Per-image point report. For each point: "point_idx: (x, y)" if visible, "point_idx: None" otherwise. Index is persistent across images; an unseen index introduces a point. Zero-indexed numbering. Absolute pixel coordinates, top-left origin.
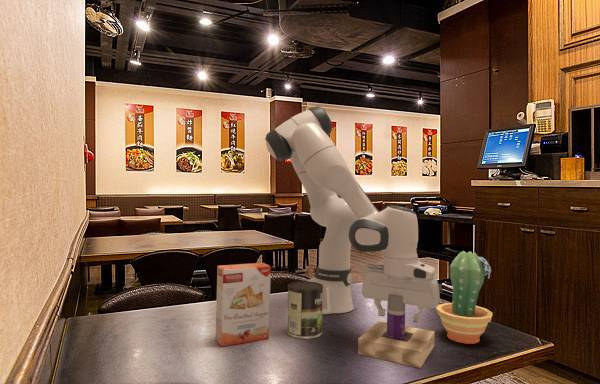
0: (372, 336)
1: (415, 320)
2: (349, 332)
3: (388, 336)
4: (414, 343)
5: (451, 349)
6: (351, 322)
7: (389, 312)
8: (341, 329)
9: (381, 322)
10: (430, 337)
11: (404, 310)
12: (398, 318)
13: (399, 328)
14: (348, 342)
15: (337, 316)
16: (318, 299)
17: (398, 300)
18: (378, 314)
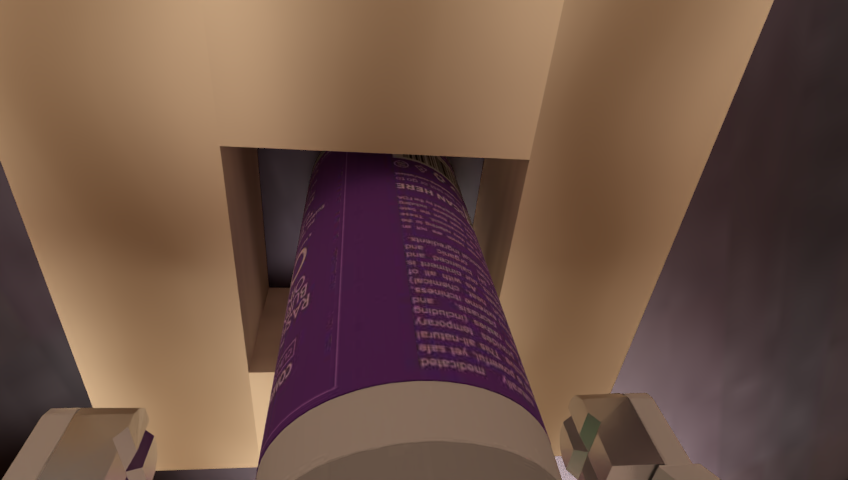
0: (617, 118)
1: (94, 424)
2: (741, 323)
3: (450, 199)
4: (128, 138)
5: (33, 381)
6: (721, 447)
7: (510, 414)
8: (793, 341)
9: (557, 443)
10: (74, 357)
11: None
12: (334, 353)
13: (325, 262)
14: (759, 161)
15: (799, 477)
16: None
17: None
18: (651, 401)
